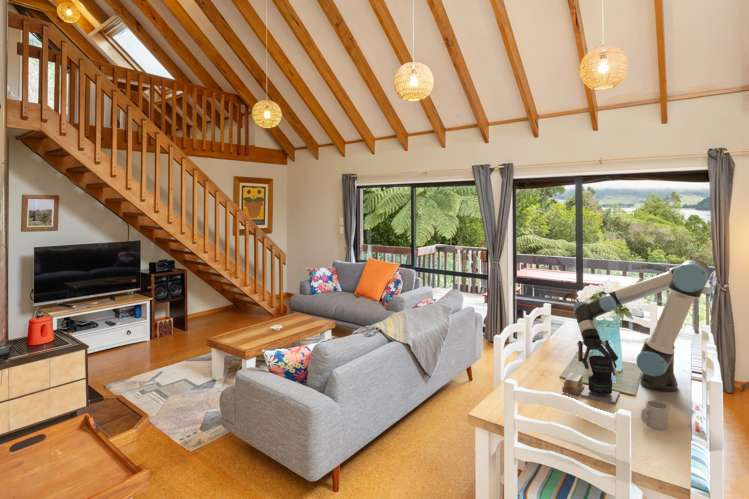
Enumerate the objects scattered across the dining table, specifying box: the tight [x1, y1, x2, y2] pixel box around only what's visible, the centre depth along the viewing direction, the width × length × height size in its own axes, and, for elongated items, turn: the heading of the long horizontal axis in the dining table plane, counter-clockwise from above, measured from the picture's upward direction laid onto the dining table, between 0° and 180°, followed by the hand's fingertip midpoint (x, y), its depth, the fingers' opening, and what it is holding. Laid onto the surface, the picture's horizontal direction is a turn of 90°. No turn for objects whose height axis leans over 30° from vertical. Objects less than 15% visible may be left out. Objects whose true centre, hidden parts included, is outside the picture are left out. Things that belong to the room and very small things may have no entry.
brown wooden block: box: [561, 372, 585, 397], centre depth 205 cm, size 7×12×6 cm, turn 142°
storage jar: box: [587, 354, 613, 395], centre depth 198 cm, size 10×10×15 cm
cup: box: [640, 400, 669, 431], centre depth 170 cm, size 7×10×9 cm
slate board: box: [580, 385, 620, 405], centre depth 199 cm, size 14×12×1 cm
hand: (603, 375), depth 195 cm, fingers open, 10 cm apart
